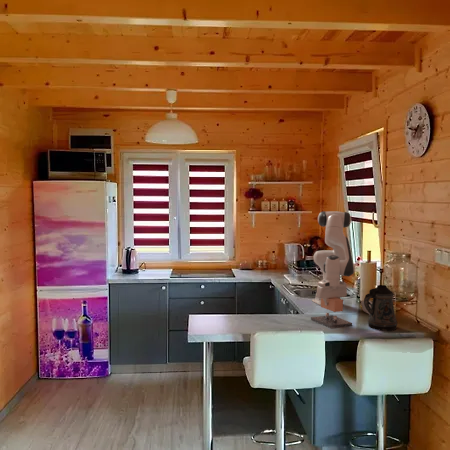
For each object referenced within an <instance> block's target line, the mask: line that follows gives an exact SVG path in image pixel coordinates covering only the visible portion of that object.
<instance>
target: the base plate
mask: <svg viewBox="0 0 450 450" xmlns="http://www.w3.org/2000/svg"><path fill="white" fill-rule="evenodd" d="M310 321H313V322H315V321H316V323H317V322H318V324H320V325H322V324H323V325H322V326H324V325H325V327H327V326H328V328H329V327H335V328H341V326H343V327H350V326H351V327H352V326H353V323H352V322H350V321H348V320H346V319H344V318H340V317H338V316H337V315H333V314H331V315H330V312H325V315H321V316H312V317H310Z"/></svg>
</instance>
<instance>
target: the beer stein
mask: <svg viewBox="0 0 450 450" xmlns="http://www.w3.org/2000/svg"><path fill="white" fill-rule="evenodd" d="M394 295H395V294H394V292H393V291H392V290H390V289H389V288H388V286H387V285H385V284H378V285H377V287H375V288H371V289H369V292H368V293H367V294H365V296H364V299H363V301H364V305H365V308H366V309H367V311H368V312H369V313H370V315H369V316H368V317H369V318H368V320H367V323H368V327H369V328H370V329H372V330H376V331H381V332H391V331H392V330H393V331H396V330H395V329H397V328H398V327H397V326H398V321H397V318H396V314H395V309H394V307H395V306H394V300H393V298H394ZM371 299H372V300H371ZM369 300H370V301H371V302H372V306H371V308H370V306H369ZM393 331H392V332H393Z"/></svg>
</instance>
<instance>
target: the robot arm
mask: <svg viewBox="0 0 450 450" xmlns="http://www.w3.org/2000/svg"><path fill="white" fill-rule="evenodd" d="M351 222H352V216H351V214H350V213H349V212H347V211H343V212H342V211H336V210H335V211H332V210H331V211H326V210H325V211H324V210H323V211H321V212H319V214H318V216H317V223H318V225H319V226H320V227H323V228H325V233H324V234H325V235H324V243H325V244H326V246H328V247H329V248H331V250H330V249H329V250H325V249H323V250H316V251H315V252H314V254H313V256H312V259H313V262H314V263H315V264H316V265H317V266H318V267H319V269H320V270H321V272H322V276H323V277H322V279H321V280H318V281H317V288H316V294H315V298H313V299H312V300H311V301H312V302H313V303H315V304H317V305H319V306H321V299H323V300H324V302H325V305H328V302H327V298H340V299H341V298H342V297H343V298H346V297H347V295H348V292H347V291H348V290H347V283H346V282H345V281H341V277H340V276H343V277H351V276H353V275H354V273H355V264H354V260H353V255H352V251H351V246H350V242H349V238H348V237H347V236H345V233H344V228H348V227H350V225H351Z"/></svg>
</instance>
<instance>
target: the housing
mask: <svg viewBox="0 0 450 450" xmlns="http://www.w3.org/2000/svg"><path fill="white" fill-rule="evenodd" d="M327 302H328V305H325V302H324V300H323V299H321V305H320V308H323V309H326V310H327V311H331V312H334V313H340V312H343V310H344V299H343V298H341V297H340V298H327Z"/></svg>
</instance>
